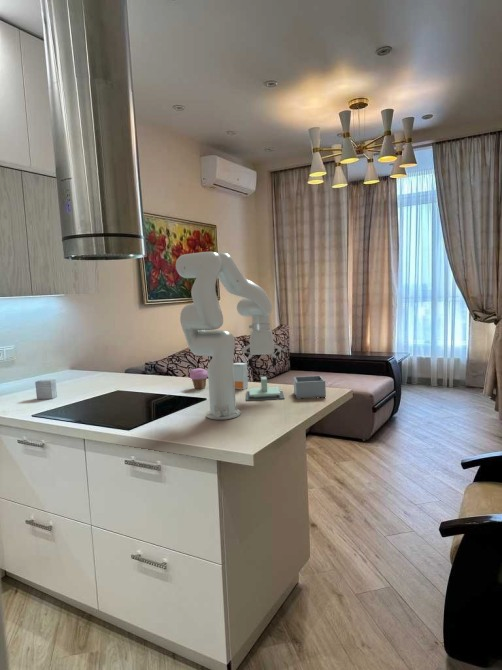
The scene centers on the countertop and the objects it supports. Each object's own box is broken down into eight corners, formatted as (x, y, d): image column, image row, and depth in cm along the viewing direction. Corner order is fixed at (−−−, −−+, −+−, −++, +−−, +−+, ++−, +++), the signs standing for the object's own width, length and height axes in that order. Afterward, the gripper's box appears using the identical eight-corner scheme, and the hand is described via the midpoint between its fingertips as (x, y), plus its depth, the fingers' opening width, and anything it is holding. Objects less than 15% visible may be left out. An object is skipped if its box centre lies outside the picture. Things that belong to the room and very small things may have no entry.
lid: (280, 397, 184) (279, 380, 183) (249, 398, 184) (248, 381, 184) (278, 390, 197) (277, 374, 196) (249, 392, 197) (248, 375, 196)
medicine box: (57, 396, 211) (55, 379, 210) (52, 399, 206) (50, 381, 206) (42, 397, 212) (40, 379, 211) (36, 399, 207) (34, 381, 206)
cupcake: (206, 390, 208) (204, 369, 207) (188, 390, 209) (186, 369, 208) (210, 386, 217) (209, 366, 216) (193, 386, 218) (192, 366, 217)
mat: (284, 399, 183) (284, 398, 183) (246, 401, 183) (245, 399, 183) (282, 390, 199) (282, 389, 199) (246, 392, 199) (246, 391, 199)
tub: (325, 397, 181) (325, 381, 181) (296, 399, 182) (296, 382, 181) (321, 391, 193) (320, 375, 193) (294, 392, 194) (293, 376, 193)
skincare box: (232, 389, 207) (231, 364, 206) (237, 387, 211) (235, 362, 210) (244, 389, 204) (242, 364, 203) (248, 387, 208) (247, 362, 207)
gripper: (240, 328, 184) (242, 369, 185) (281, 327, 184) (283, 368, 185) (241, 328, 192) (242, 367, 193) (280, 326, 191) (282, 365, 193)
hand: (262, 367), depth 189 cm, fingers open, 9 cm apart
